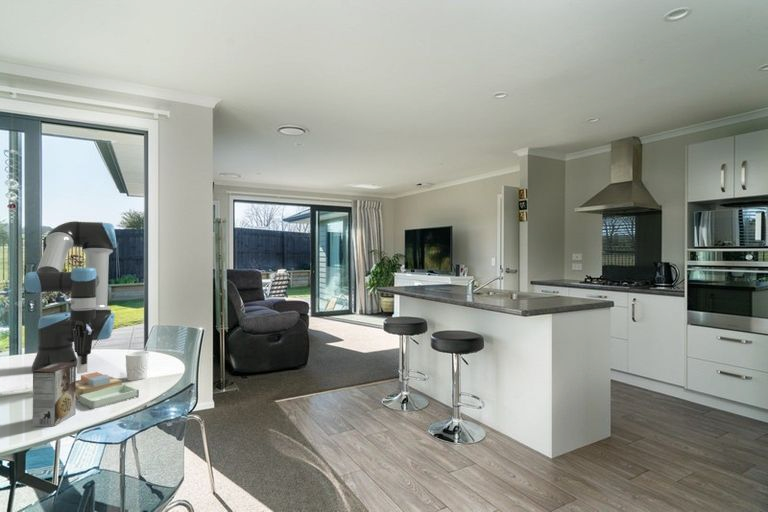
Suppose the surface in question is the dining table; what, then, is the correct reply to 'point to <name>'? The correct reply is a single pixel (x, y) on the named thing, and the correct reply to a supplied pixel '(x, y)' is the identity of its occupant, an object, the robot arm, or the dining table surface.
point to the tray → (108, 396)
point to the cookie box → (54, 394)
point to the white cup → (137, 365)
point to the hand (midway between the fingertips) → (82, 372)
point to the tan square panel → (86, 388)
